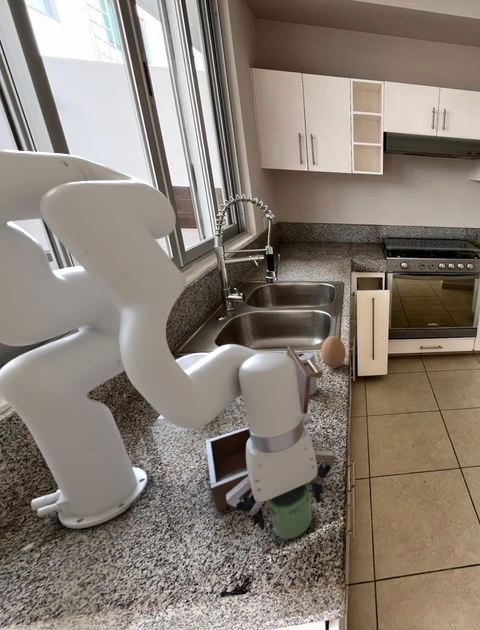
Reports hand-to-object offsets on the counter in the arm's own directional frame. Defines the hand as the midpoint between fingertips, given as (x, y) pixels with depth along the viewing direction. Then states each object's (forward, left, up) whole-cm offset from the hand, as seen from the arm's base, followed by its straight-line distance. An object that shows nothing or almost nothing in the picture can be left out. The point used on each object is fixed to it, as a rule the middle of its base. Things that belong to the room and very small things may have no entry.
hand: (290, 509), depth 59 cm
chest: (-3, +16, -4) cm, 17 cm away
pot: (0, 0, -4) cm, 4 cm away
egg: (+26, +48, -4) cm, 54 cm away
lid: (+6, +16, +11) cm, 21 cm away
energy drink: (+14, +38, -4) cm, 41 cm away
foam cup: (-11, +47, -4) cm, 48 cm away
